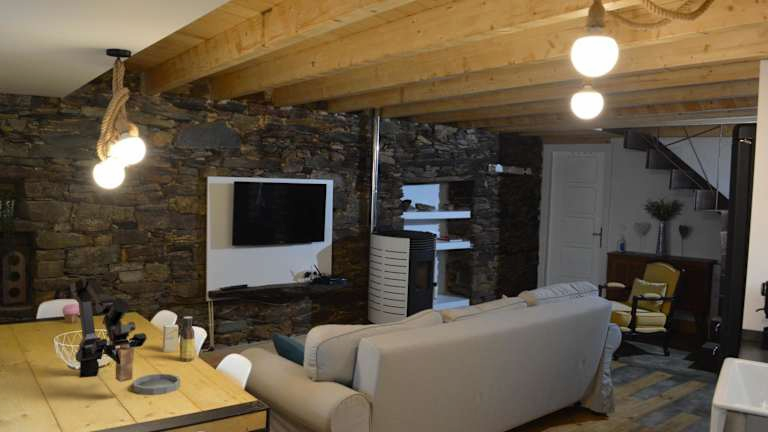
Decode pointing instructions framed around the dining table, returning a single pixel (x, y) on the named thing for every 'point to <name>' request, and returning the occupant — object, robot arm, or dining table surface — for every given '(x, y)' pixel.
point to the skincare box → (170, 338)
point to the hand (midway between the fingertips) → (125, 362)
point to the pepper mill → (124, 363)
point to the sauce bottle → (187, 340)
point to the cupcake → (71, 313)
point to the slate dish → (156, 384)
